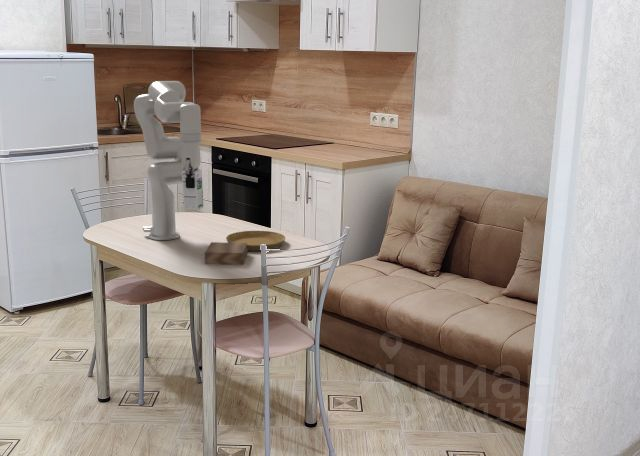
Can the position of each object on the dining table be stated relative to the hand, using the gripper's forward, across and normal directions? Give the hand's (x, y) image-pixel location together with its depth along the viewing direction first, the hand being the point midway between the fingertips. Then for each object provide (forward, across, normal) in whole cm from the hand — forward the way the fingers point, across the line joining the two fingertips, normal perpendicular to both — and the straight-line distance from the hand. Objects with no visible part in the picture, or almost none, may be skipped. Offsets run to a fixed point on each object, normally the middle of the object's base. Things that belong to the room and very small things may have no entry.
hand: (192, 185), depth 268 cm
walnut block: (+28, +1, +12) cm, 31 cm away
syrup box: (+9, 0, 0) cm, 9 cm away
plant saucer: (+28, -21, +20) cm, 40 cm away
